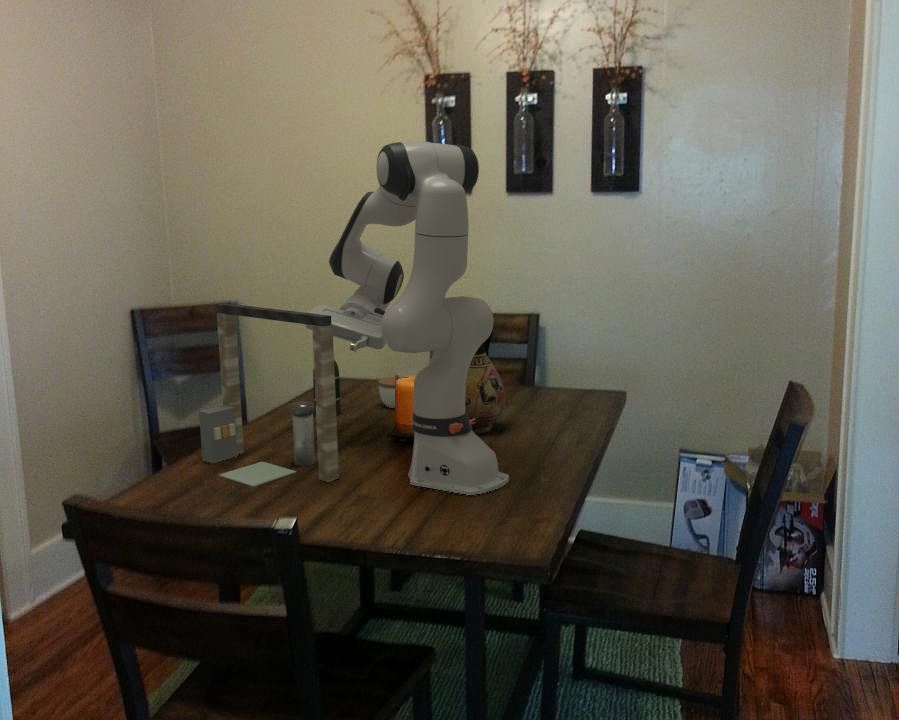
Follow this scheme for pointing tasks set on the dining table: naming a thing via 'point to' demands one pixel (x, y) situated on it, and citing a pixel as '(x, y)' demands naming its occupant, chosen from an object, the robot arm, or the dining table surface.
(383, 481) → the dining table surface
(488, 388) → the ceramic jug
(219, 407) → the breaker box
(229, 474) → the sage mat
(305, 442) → the frosted spice bottle
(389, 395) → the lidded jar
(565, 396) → the dining table surface
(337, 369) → the beer bottle
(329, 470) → the arch
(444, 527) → the dining table surface
